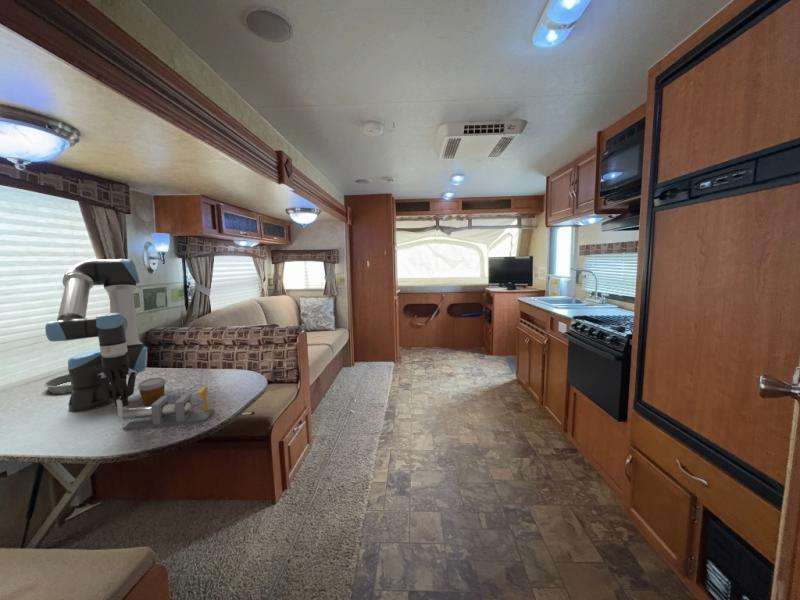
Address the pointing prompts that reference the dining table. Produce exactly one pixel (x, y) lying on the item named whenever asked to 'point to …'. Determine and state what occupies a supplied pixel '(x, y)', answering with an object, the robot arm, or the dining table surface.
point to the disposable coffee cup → (151, 390)
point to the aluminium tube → (146, 411)
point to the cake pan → (57, 381)
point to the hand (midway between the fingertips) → (123, 414)
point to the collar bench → (169, 420)
